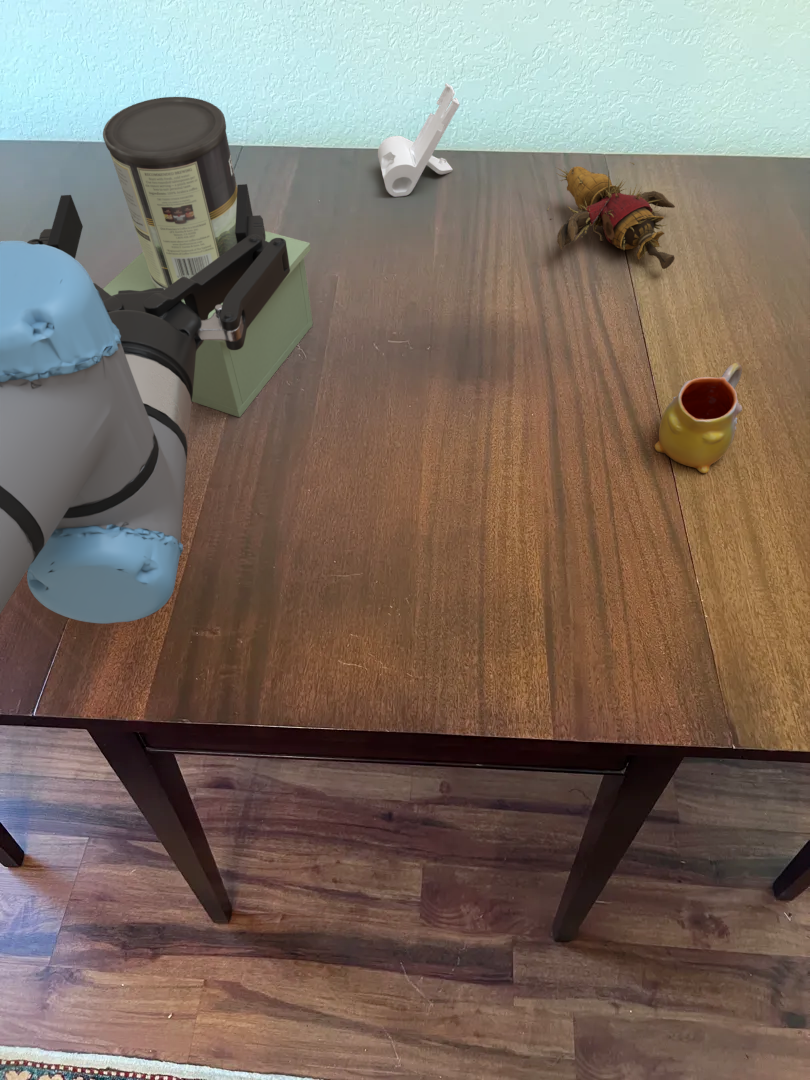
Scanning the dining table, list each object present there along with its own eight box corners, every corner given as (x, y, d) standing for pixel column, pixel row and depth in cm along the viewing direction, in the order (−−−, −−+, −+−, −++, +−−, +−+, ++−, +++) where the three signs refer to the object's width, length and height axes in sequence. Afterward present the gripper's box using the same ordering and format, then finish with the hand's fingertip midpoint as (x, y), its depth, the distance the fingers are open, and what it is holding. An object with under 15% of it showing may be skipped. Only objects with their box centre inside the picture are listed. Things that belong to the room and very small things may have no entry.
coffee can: (224, 226, 82) (192, 84, 70) (271, 275, 77) (246, 131, 65) (132, 260, 79) (83, 117, 67) (175, 314, 74) (131, 170, 62)
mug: (703, 484, 75) (725, 436, 69) (640, 449, 77) (657, 400, 72) (761, 415, 80) (786, 365, 74) (700, 384, 82) (720, 334, 77)
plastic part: (378, 168, 108) (373, 79, 99) (449, 161, 109) (451, 72, 99) (385, 198, 104) (381, 107, 94) (458, 190, 104) (461, 99, 95)
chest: (313, 324, 89) (302, 247, 81) (239, 417, 81) (219, 341, 72) (209, 294, 92) (188, 217, 84) (128, 380, 84) (97, 303, 76)
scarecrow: (670, 207, 102) (688, 147, 96) (675, 282, 92) (695, 221, 86) (540, 196, 104) (549, 136, 97) (531, 268, 94) (540, 207, 88)
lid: (311, 249, 81) (310, 242, 80) (228, 344, 72) (227, 337, 72) (188, 216, 84) (187, 209, 84) (97, 303, 76) (94, 296, 75)
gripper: (-42, 448, 52) (18, 257, 64) (331, 419, 53) (320, 238, 66) (-102, 362, 46) (-23, 169, 58) (321, 332, 47) (311, 149, 60)
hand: (159, 205), depth 62 cm, fingers open, 13 cm apart
